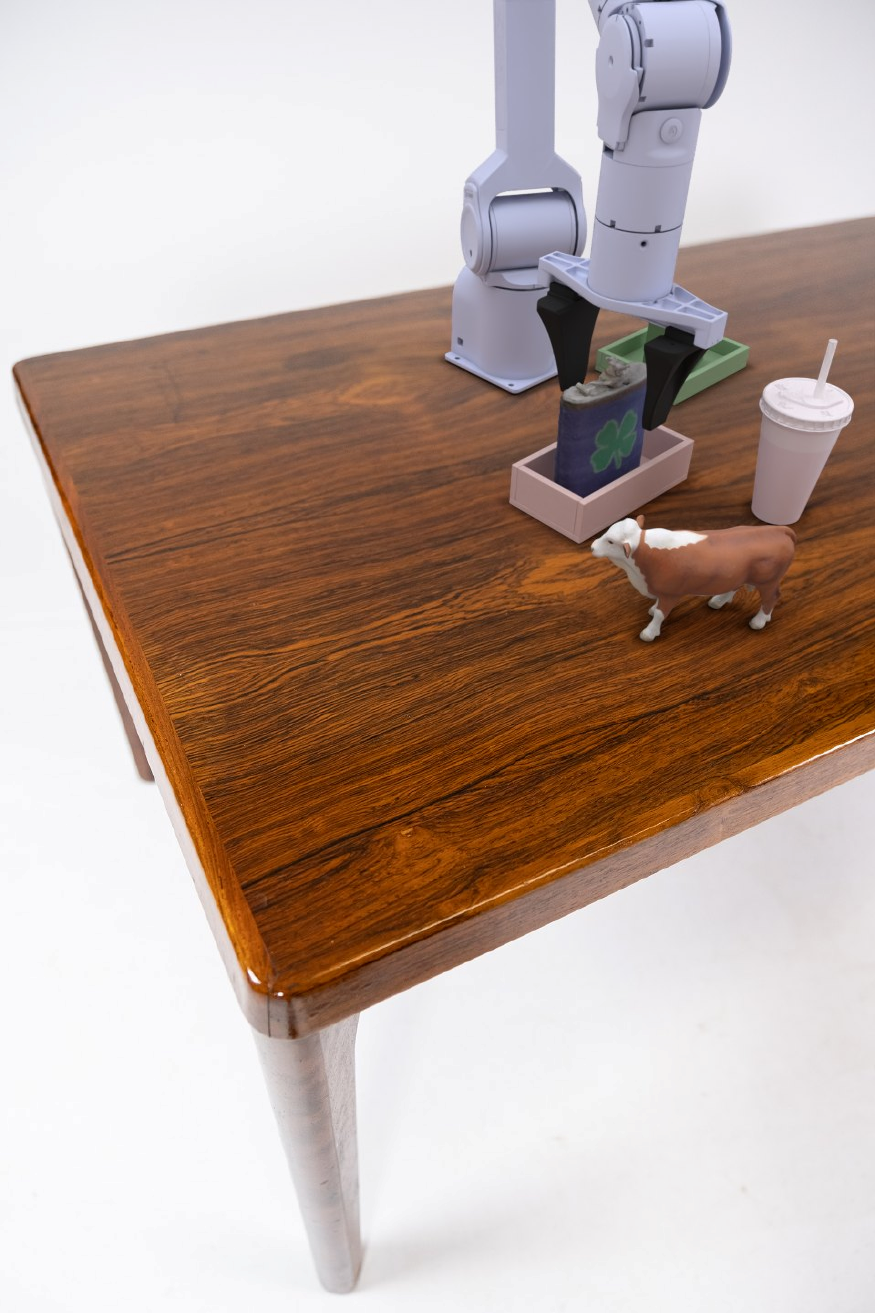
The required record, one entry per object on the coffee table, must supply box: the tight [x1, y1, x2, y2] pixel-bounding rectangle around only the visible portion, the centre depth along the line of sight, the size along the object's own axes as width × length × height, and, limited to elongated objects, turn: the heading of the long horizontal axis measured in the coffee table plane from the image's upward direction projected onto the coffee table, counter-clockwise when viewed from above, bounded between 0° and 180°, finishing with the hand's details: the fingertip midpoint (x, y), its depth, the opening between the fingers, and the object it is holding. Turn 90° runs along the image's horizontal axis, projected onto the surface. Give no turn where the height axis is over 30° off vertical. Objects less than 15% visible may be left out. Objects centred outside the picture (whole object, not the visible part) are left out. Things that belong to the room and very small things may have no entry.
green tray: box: [594, 326, 751, 406], centre depth 95 cm, size 9×11×2 cm
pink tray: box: [508, 424, 695, 545], centre depth 79 cm, size 7×13×4 cm, turn 133°
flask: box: [554, 356, 647, 499], centre depth 76 cm, size 9×3×11 cm, turn 131°
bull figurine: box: [590, 514, 798, 642], centre depth 66 cm, size 4×13×8 cm, turn 95°
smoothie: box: [750, 338, 855, 526], centre depth 74 cm, size 6×6×14 cm
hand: (611, 405), depth 75 cm, fingers open, 7 cm apart
